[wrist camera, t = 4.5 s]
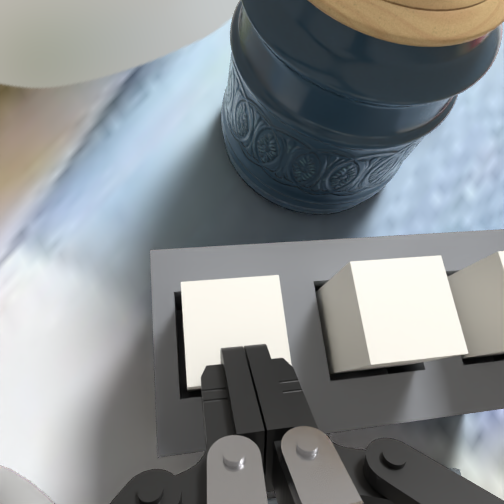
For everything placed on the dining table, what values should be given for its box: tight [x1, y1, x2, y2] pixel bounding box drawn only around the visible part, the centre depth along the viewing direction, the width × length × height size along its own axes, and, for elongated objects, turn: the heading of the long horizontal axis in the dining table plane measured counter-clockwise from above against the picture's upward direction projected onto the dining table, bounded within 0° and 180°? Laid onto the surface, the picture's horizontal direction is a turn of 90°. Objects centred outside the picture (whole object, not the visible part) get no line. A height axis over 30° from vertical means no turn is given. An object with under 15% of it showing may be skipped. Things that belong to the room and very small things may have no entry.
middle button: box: [315, 255, 469, 375], centre depth 17 cm, size 4×4×5 cm
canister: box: [221, 0, 504, 214], centre depth 22 cm, size 13×13×18 cm
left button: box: [181, 275, 292, 392], centre depth 17 cm, size 4×4×5 cm
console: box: [150, 229, 504, 457], centre depth 22 cm, size 18×8×8 cm, turn 97°
